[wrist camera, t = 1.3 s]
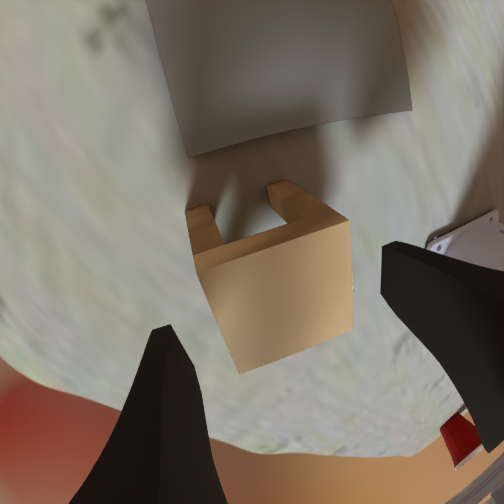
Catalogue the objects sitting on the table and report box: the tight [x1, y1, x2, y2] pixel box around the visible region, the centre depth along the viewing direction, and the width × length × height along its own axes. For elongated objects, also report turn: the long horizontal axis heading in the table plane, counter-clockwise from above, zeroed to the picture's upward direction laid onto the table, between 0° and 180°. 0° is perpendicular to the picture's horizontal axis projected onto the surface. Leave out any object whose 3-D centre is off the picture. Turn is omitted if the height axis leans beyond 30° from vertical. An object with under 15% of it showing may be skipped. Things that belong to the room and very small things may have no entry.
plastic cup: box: [440, 413, 484, 470], centre depth 42 cm, size 11×11×12 cm
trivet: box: [146, 0, 413, 158], centre depth 9 cm, size 11×11×1 cm
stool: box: [185, 180, 353, 374], centre depth 11 cm, size 5×5×5 cm
